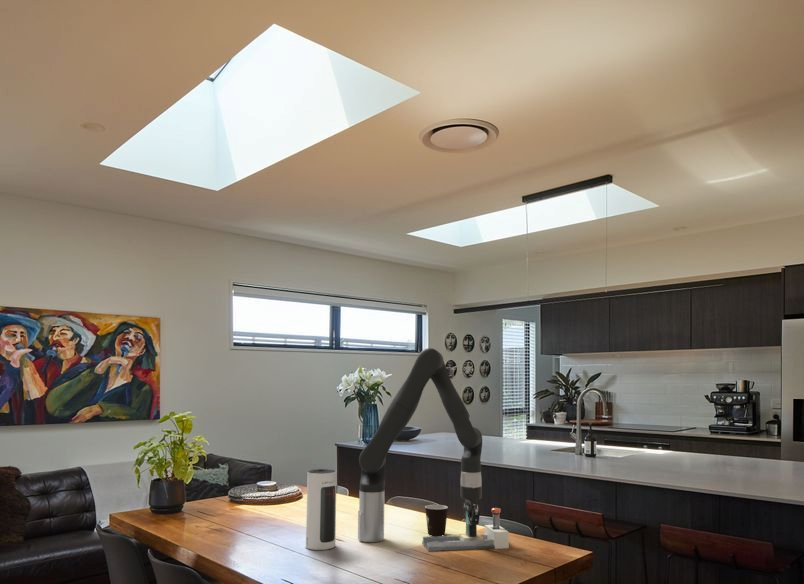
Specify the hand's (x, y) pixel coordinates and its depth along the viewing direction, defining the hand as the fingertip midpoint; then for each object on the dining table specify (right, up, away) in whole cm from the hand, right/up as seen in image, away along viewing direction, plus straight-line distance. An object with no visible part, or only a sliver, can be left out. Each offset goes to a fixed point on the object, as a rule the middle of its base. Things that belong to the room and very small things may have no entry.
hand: (471, 534), depth 219 cm
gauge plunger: (+9, -1, +2) cm, 9 cm away
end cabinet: (+9, -4, +1) cm, 10 cm away
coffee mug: (-11, -6, +17) cm, 21 cm away
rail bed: (-3, -3, -1) cm, 5 cm away
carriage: (0, -2, 0) cm, 2 cm away
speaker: (-53, -3, -4) cm, 53 cm away
